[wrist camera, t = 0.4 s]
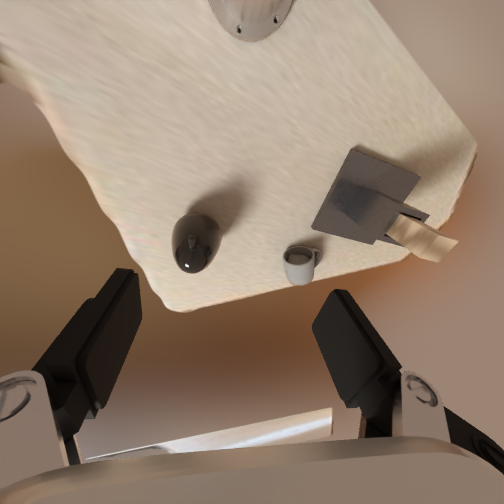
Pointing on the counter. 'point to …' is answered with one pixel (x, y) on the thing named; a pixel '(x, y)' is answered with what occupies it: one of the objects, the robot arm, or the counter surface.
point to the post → (420, 238)
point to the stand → (366, 200)
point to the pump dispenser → (195, 242)
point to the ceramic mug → (300, 264)
